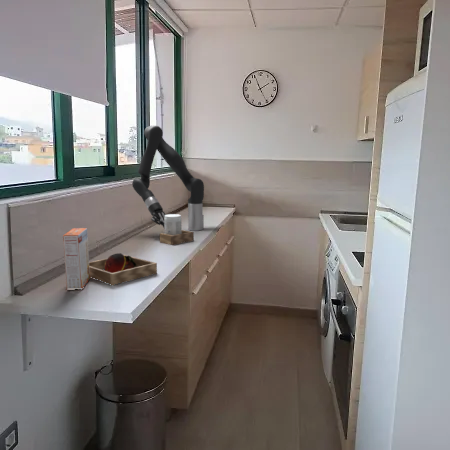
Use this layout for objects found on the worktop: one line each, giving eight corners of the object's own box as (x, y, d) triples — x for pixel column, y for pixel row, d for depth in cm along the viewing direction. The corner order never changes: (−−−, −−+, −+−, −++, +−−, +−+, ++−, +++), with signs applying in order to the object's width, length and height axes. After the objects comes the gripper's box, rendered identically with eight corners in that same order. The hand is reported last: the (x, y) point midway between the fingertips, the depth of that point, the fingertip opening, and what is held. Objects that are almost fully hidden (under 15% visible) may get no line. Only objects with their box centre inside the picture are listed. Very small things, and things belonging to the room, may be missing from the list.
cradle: (180, 238, 255) (180, 229, 254) (193, 240, 248) (193, 232, 247) (159, 242, 243) (159, 233, 242) (172, 245, 236) (172, 236, 235)
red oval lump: (121, 288, 187) (94, 277, 176) (126, 261, 193) (101, 248, 182) (142, 286, 181) (116, 273, 170) (147, 258, 186) (122, 244, 176)
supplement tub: (179, 238, 253) (179, 213, 250) (183, 242, 244) (183, 216, 241) (162, 239, 249) (162, 214, 247) (166, 243, 241) (166, 216, 238)
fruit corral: (124, 264, 195) (124, 254, 195) (156, 273, 181) (156, 263, 181) (80, 274, 179) (80, 264, 178) (112, 285, 165) (111, 274, 164)
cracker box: (75, 279, 172) (72, 227, 169) (90, 279, 173) (88, 227, 169) (65, 291, 158) (61, 234, 155) (82, 290, 159) (79, 234, 155)
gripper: (147, 202, 247) (161, 226, 241) (165, 200, 257) (179, 223, 251) (141, 211, 252) (155, 234, 246) (159, 208, 261) (173, 231, 256)
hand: (167, 229), depth 249 cm, fingers closed
